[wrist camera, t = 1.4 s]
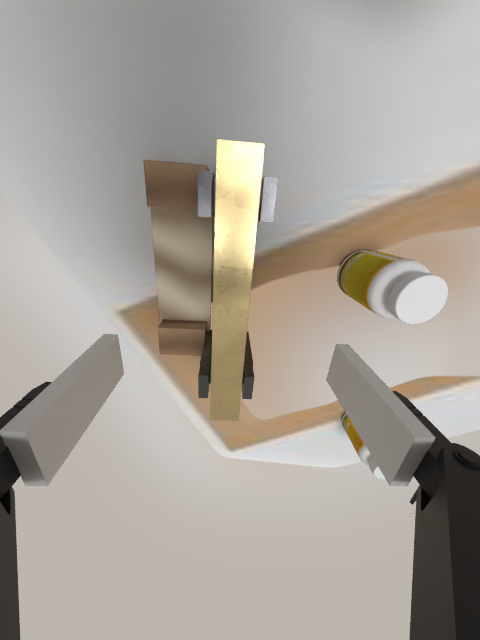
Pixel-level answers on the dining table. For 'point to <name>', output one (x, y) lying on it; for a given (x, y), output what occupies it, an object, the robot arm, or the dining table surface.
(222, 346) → the rail
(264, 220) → the rack
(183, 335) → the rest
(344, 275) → the pill bottle
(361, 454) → the supplement bottle
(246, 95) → the dining table surface
